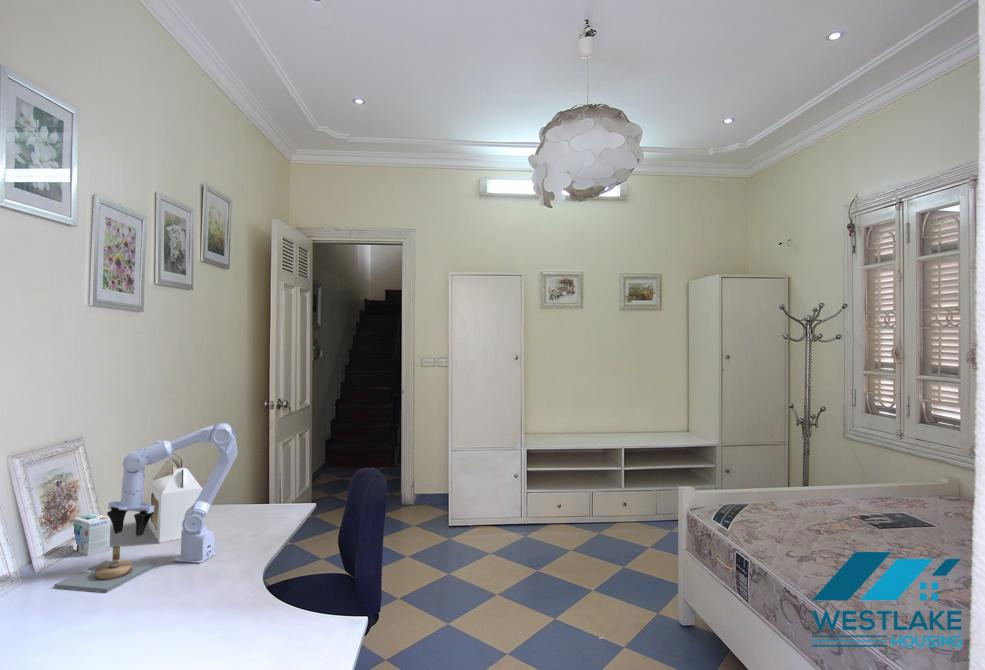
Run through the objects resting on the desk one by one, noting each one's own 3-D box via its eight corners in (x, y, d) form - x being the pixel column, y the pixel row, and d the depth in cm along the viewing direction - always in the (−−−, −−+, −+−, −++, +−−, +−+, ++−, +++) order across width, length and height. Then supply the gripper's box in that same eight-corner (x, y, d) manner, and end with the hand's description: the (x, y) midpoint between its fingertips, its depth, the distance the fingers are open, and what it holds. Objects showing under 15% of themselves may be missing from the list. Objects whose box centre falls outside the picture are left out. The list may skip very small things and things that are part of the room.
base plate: (154, 567, 163) (154, 563, 164) (106, 592, 147) (107, 588, 147) (106, 563, 166) (106, 559, 166) (54, 587, 149) (54, 583, 149)
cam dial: (131, 575, 155) (131, 556, 155) (93, 582, 150) (94, 562, 150) (133, 560, 166) (134, 542, 166) (98, 566, 161) (98, 548, 161)
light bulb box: (71, 550, 176) (72, 517, 177) (94, 543, 182) (95, 512, 182) (88, 556, 171) (89, 523, 172) (110, 549, 177) (111, 517, 178)
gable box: (148, 527, 200) (151, 453, 200) (188, 519, 208) (190, 449, 209) (159, 544, 183) (161, 463, 184) (201, 535, 192) (203, 458, 192)
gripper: (101, 491, 162) (97, 535, 161) (143, 495, 159) (139, 540, 159) (120, 485, 169) (116, 528, 168) (160, 490, 166) (157, 533, 166)
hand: (128, 533), depth 164 cm, fingers open, 7 cm apart
